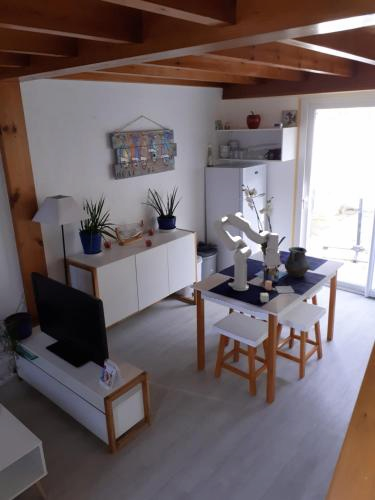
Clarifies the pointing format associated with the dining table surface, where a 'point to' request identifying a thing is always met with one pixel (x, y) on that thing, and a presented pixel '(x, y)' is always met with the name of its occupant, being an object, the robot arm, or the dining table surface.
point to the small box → (271, 276)
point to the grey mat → (284, 289)
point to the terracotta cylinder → (268, 285)
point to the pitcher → (297, 262)
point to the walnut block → (272, 270)
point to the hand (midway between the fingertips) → (271, 273)
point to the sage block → (264, 297)
